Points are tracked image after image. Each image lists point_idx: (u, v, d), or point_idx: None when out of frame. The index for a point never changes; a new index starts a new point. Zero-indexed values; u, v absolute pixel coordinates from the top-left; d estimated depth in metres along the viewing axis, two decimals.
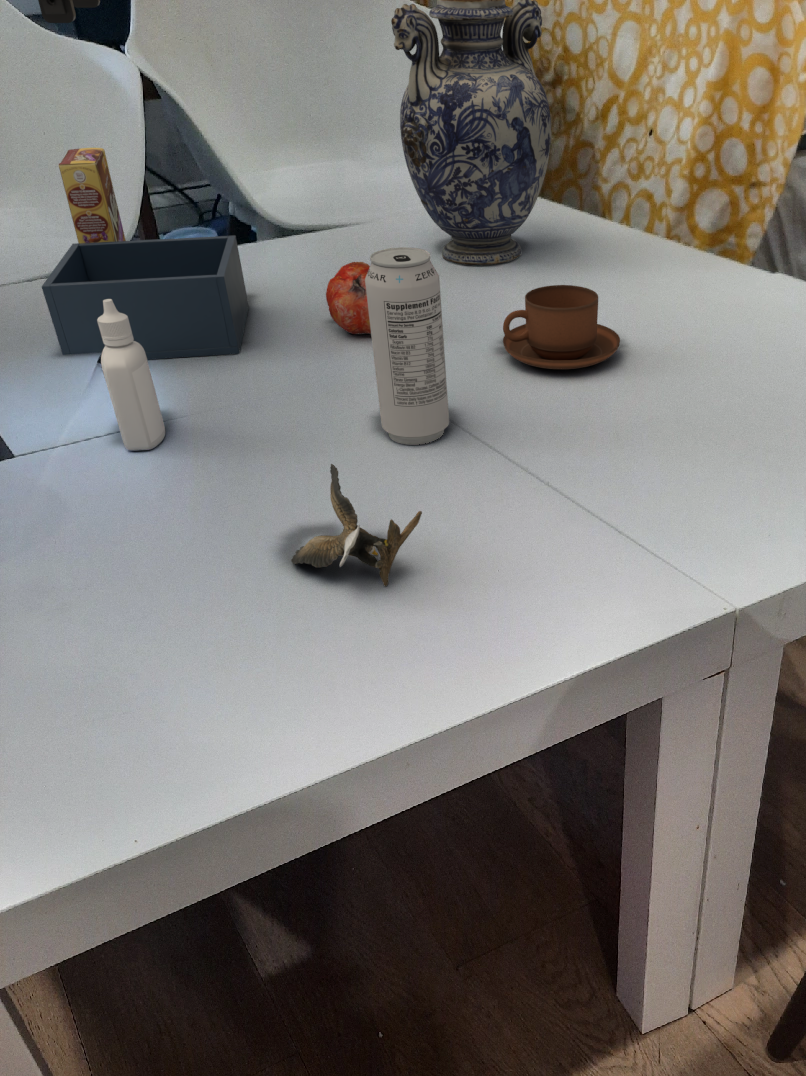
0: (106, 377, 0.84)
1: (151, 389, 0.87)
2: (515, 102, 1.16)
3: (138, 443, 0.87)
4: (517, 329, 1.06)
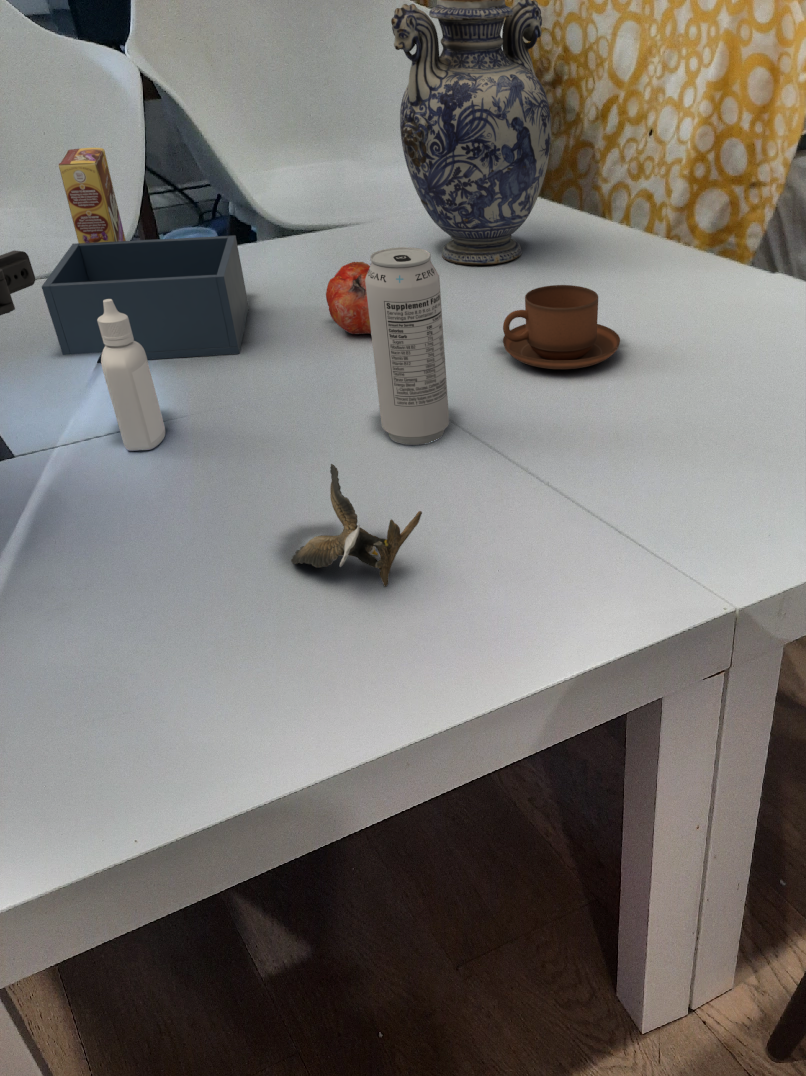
0: (106, 377, 0.84)
1: (151, 389, 0.87)
2: (514, 102, 1.16)
3: (138, 443, 0.87)
4: (517, 329, 1.06)
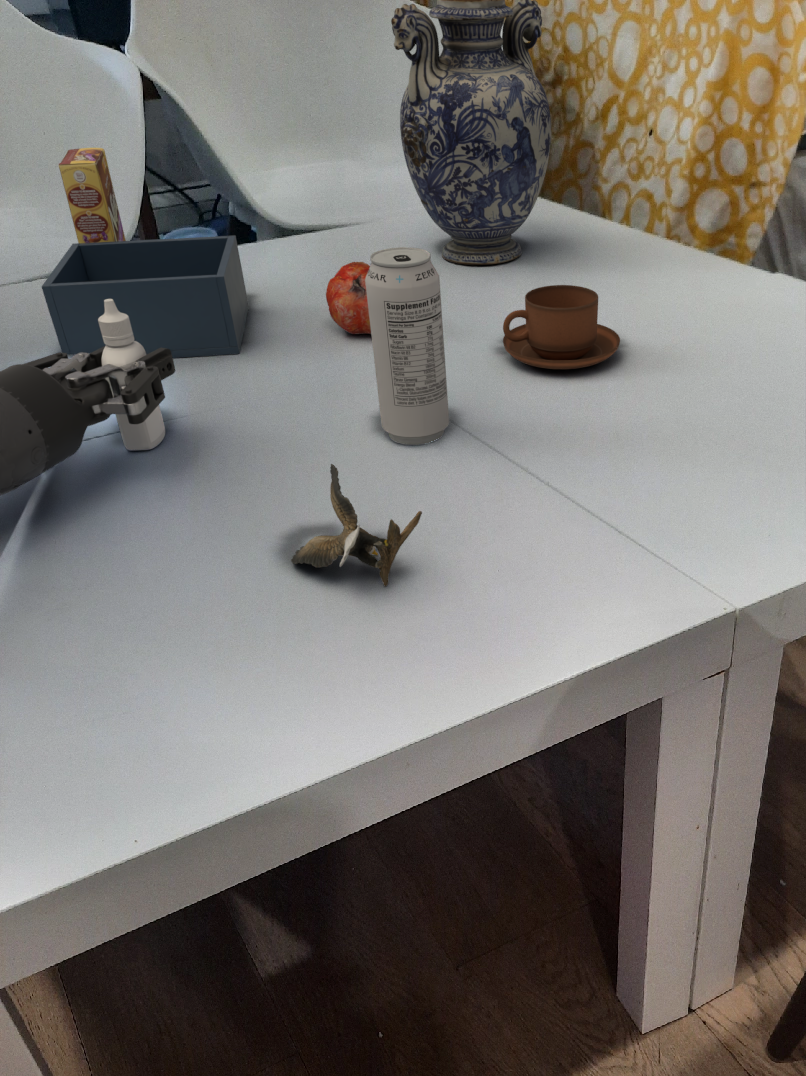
0: None
1: None
2: (514, 102, 1.16)
3: (138, 443, 0.87)
4: (517, 329, 1.06)
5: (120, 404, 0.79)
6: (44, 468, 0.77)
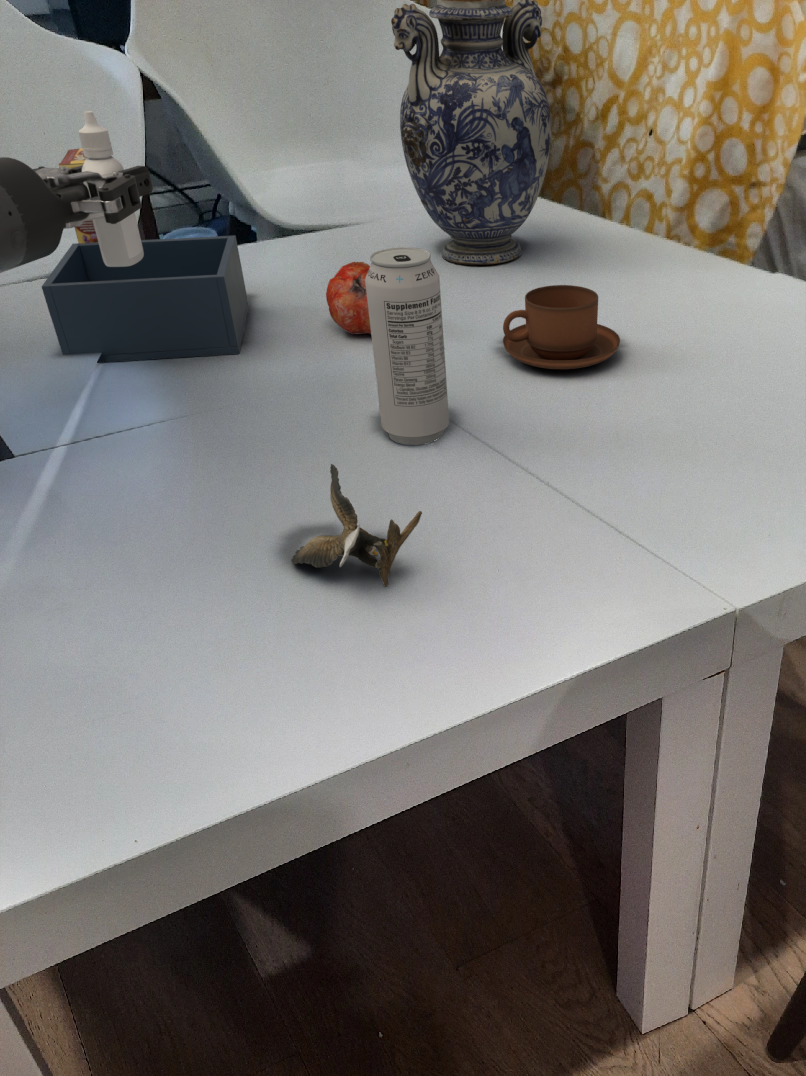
0: None
1: None
2: (514, 102, 1.16)
3: (117, 258, 0.91)
4: (517, 329, 1.06)
5: (97, 202, 0.83)
6: (24, 256, 0.81)
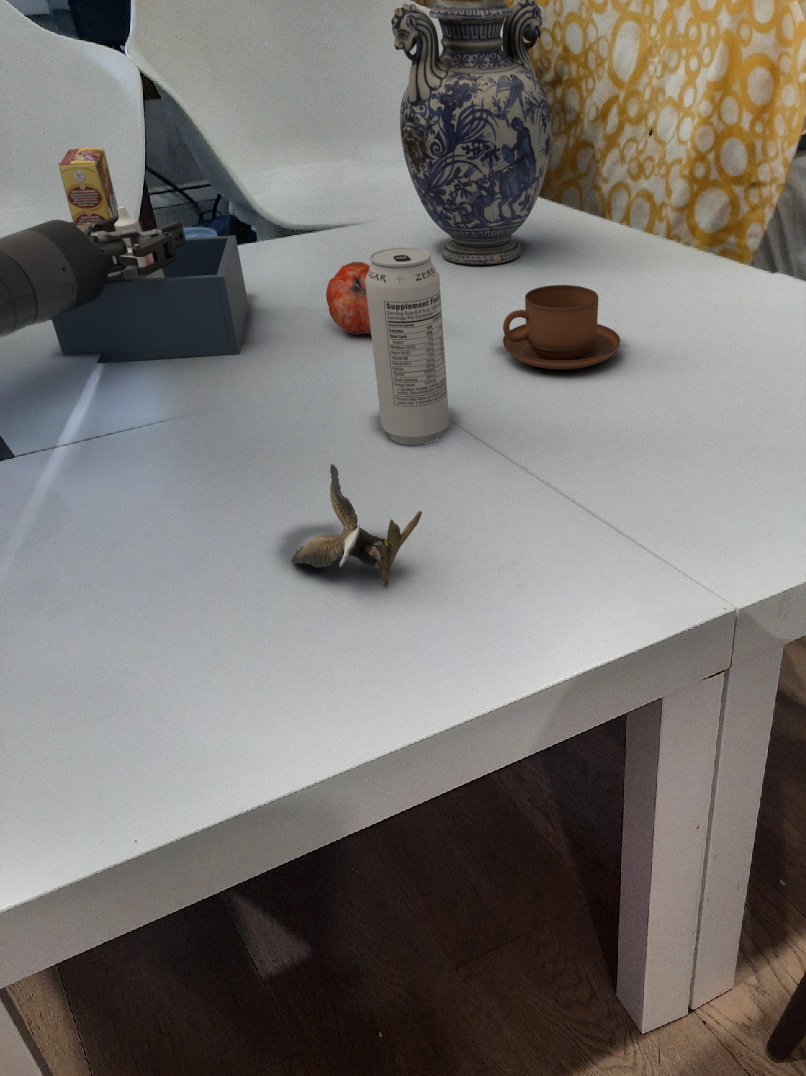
0: (123, 271, 1.04)
1: None
2: (514, 102, 1.16)
3: None
4: (517, 329, 1.06)
5: (131, 257, 0.97)
6: (74, 303, 0.95)
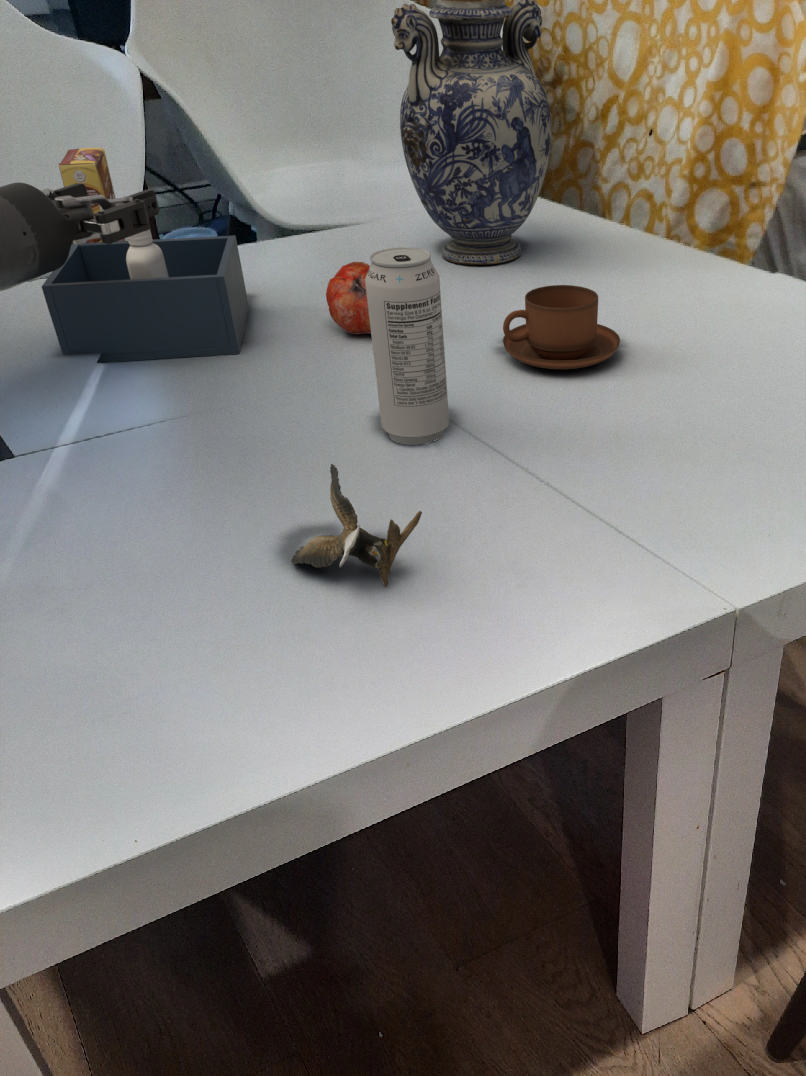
0: (129, 270, 1.04)
1: None
2: (514, 102, 1.16)
3: None
4: (517, 329, 1.06)
5: (94, 223, 0.92)
6: (37, 271, 0.91)
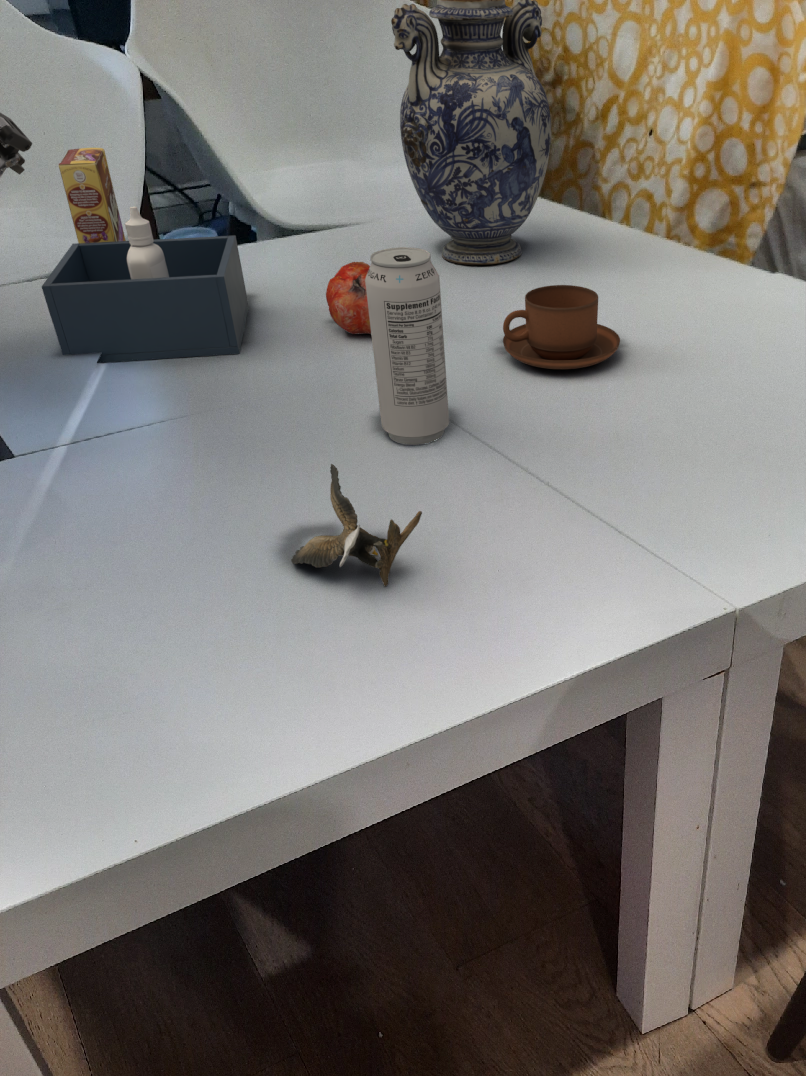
0: (130, 270, 1.04)
1: None
2: (514, 102, 1.16)
3: None
4: (517, 329, 1.06)
5: None
6: None
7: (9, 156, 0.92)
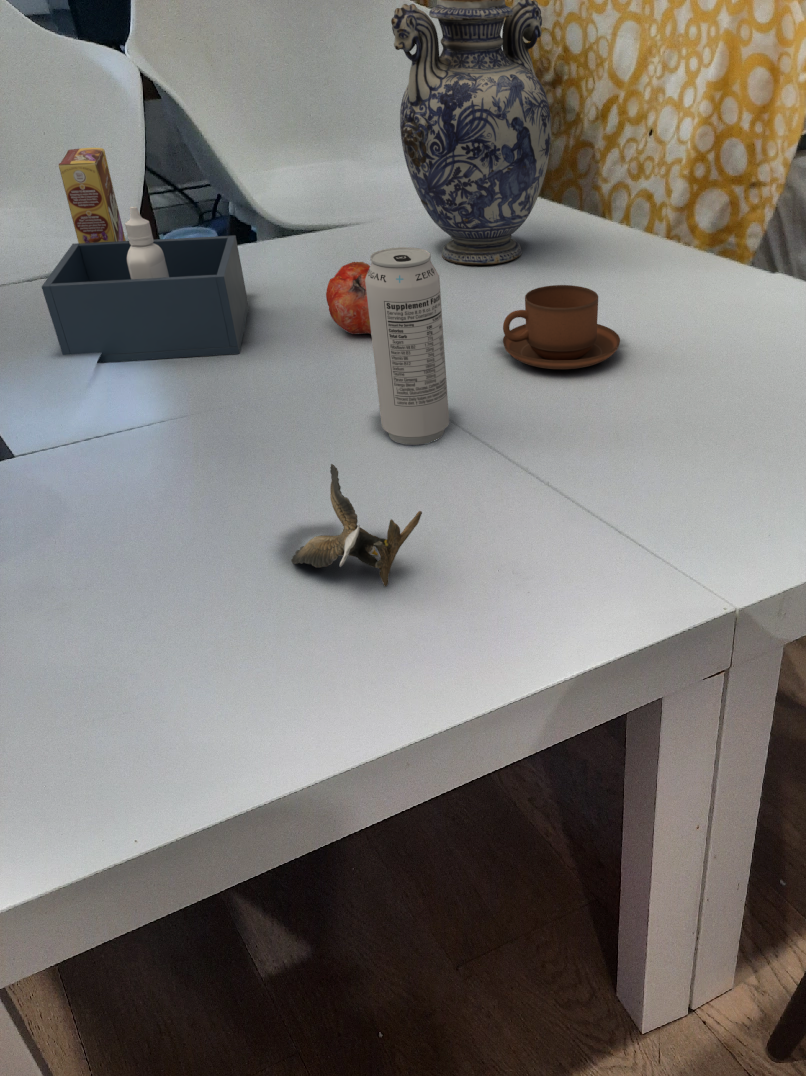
0: (130, 270, 1.04)
1: None
2: (514, 102, 1.16)
3: None
4: (517, 329, 1.06)
5: None
6: None
7: None
